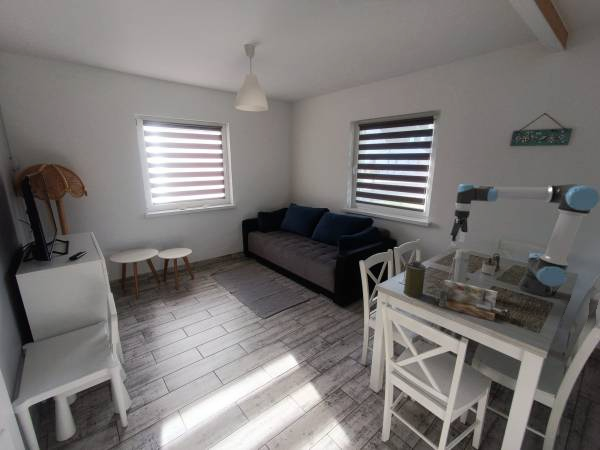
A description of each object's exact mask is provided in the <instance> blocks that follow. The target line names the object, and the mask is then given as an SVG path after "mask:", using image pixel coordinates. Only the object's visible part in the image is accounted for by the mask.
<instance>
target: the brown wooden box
mask: <svg viewBox="0 0 600 450" xmlns="http://www.w3.org/2000/svg"><path fill="white" fill-rule="evenodd" d="M484 292H486V295H485V300H484V301H487V302H491V307H492V308H495V306H496V302H497V298H498V291H497V290H496V291H495V290H492V289H487V288H484V287H483V288H482V287H478V286H475V285H470V284H467V283H465V284H461V283H457V282H452V281H450V280H449V279H443V285H442V287H441V291H440V297H439V302H438V304H439V305H438V306H439V307H441V308H445V309H448V310H452V311H455V312H458V313H459V312H460V313H463V314H466V315H471V316H474V317H477V318H481V319H485V320H488V321H492V322H494V321H495V316H496V313H495V311H493V310H490V312H486V311H483V310H479V309H475V306H476V300H477V299H479V300H483V297H484Z"/></svg>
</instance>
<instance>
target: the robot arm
mask: <svg viewBox="0 0 600 450" xmlns="http://www.w3.org/2000/svg"><path fill="white" fill-rule="evenodd" d="M497 200H506V201H511V200H512V201H536V202H537V201H539V202H545V203H549V204H558V207H557V210H558V212H559V214H558V218H557V221H556V223H555V226H554V228H553V231H552V234H551V237H550V240H549V242H548V245H547V247H546V250H545V253H541V252H540V253H538V252H531V253H529V254H528V255H529V256H528V259H527V264H526V268H525V273H524V276H523V278H521V280H520V282H519V283H518V288H519V289H520V290H521V291H523V292H526V293H527V294H532V295H536V296H542V297H550V296H552V293H553V288H552V287H558V286H561V285H563V284H565V283H566V281H567V280H568V274H567V269H568V266H569V262H567V258H568V256H569V253H570V250H571V248H572V246H573V243H574V241H575V238H576V236H577V232H578V230H579V228H580V226H581V224H582V220H583V218H584V217H586V216H588V215H589V214H590V213H591V210H592V209H594V208H595V207H596V206H597V205H598V204H599V202H600V193H599V192H598V191H597V189H596V188H593V187H591V186H588V185H586V184H585V185H582V184H575V183H573V184H571V183H569V184H558V185H547V186H544V187H543V186H538V187H537V186H535V187H534V186H484V185H481V186H478V187H474V184H473V183H460V184H459V185H458V187H457V193H456V203H455V204H454V205H455V211H454V217H457V218H455V219H454V221H453V222H454V223H453V226H452V229H451V233H450V236H451V242H450V246H451V247H454V248H455V247H457V243H458V234H459V231H460V235H459V242H460V243H465V240H466V234H467V233H468V218H470V212H471V211H470V210H471V206H472V201H473V202H488V203H489V202H493V203H494V202H496V201H497Z"/></svg>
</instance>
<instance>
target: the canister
mask: <svg viewBox="0 0 600 450" xmlns="http://www.w3.org/2000/svg"><path fill="white" fill-rule="evenodd" d="M404 269H405V272H404V274H403V279H404V286H403V287H404V288H403V294H404V295H405V296H407V297H410V298H414V299H419V298H422V297H423V296H424V294H423V292H424V291H423V290H424V283H425V276H426V275H425V274H426V269H427V266H425V265H424V264H423V263H422V261H419V260H415V259H414V261H413V262H406V263H405V265H404Z"/></svg>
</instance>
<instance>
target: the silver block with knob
mask: <svg viewBox="0 0 600 450" xmlns="http://www.w3.org/2000/svg"><path fill="white" fill-rule="evenodd" d="M485 295H486V292H484V297H483V300H479V299H477V300H476V306H475V309H479V310H483V311H486V312H490V310H493V311H494V312H498V313H501V314H503V315H504V317H508V318H509V317H510V315H511V309H509V308H505V309H504V310H503V309H500V308H492V307H491V302H487V301H484V300H485Z"/></svg>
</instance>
